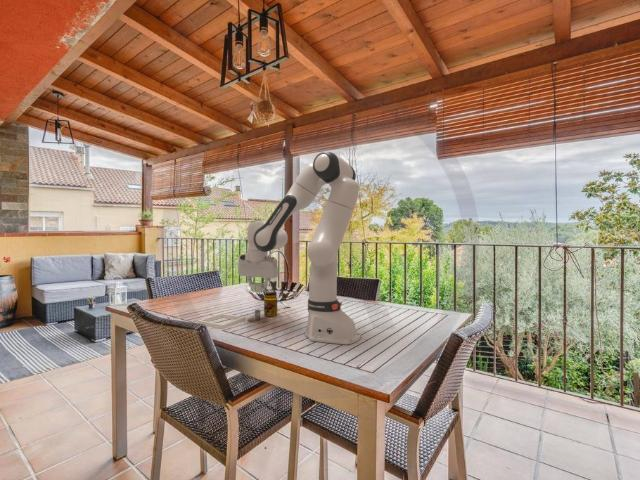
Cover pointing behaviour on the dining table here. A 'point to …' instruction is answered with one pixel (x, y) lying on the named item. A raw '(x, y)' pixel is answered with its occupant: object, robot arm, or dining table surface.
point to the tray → (221, 326)
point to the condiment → (270, 304)
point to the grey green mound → (257, 318)
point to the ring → (257, 287)
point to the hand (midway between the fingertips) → (258, 286)
